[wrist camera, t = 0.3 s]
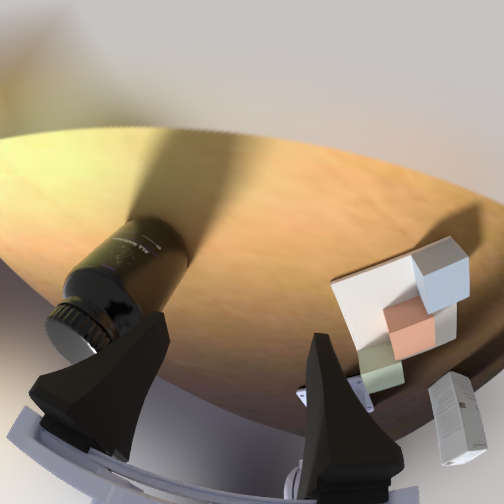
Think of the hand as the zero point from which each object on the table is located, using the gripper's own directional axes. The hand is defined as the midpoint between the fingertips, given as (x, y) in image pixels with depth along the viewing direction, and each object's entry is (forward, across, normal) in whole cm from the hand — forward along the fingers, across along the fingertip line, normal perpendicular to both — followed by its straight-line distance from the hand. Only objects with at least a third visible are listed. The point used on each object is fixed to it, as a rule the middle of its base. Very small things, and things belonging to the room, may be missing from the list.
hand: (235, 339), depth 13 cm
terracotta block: (+10, -14, +6) cm, 18 cm away
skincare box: (+10, -26, +18) cm, 34 cm away
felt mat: (+10, -14, +6) cm, 18 cm away
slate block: (+10, -14, 0) cm, 17 cm away
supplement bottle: (+10, +9, +2) cm, 14 cm away
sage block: (+10, -13, +12) cm, 20 cm away
